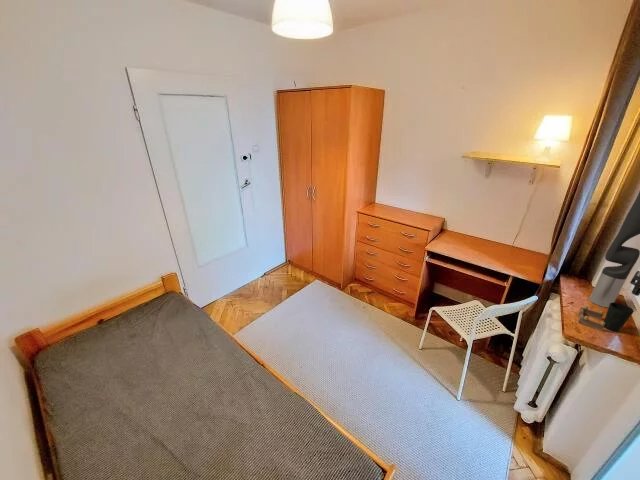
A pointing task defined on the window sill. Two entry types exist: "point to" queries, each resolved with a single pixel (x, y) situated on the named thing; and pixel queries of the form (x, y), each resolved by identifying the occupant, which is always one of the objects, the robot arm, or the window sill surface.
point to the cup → (617, 316)
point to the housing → (593, 314)
